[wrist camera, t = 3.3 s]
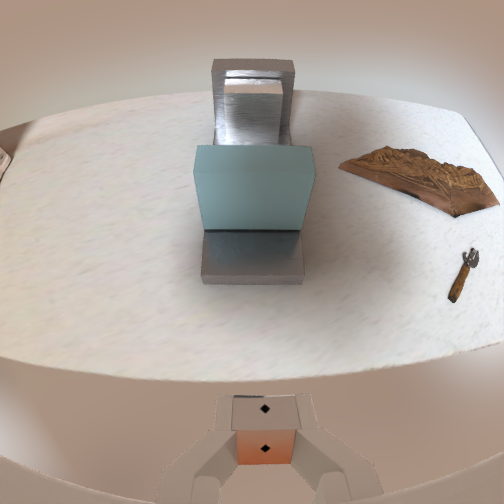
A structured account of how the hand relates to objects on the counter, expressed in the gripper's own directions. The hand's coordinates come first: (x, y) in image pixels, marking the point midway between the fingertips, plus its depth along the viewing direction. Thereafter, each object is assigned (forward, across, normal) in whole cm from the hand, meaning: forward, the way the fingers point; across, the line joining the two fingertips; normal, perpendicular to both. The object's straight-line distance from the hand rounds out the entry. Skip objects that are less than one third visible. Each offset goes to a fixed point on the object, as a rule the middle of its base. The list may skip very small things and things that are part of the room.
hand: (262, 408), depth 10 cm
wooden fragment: (+30, -23, -6) cm, 38 cm away
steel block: (+31, 0, -11) cm, 33 cm away
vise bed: (+28, 0, -5) cm, 29 cm away
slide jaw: (+22, 0, -2) cm, 22 cm away
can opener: (+20, -24, +4) cm, 32 cm away
